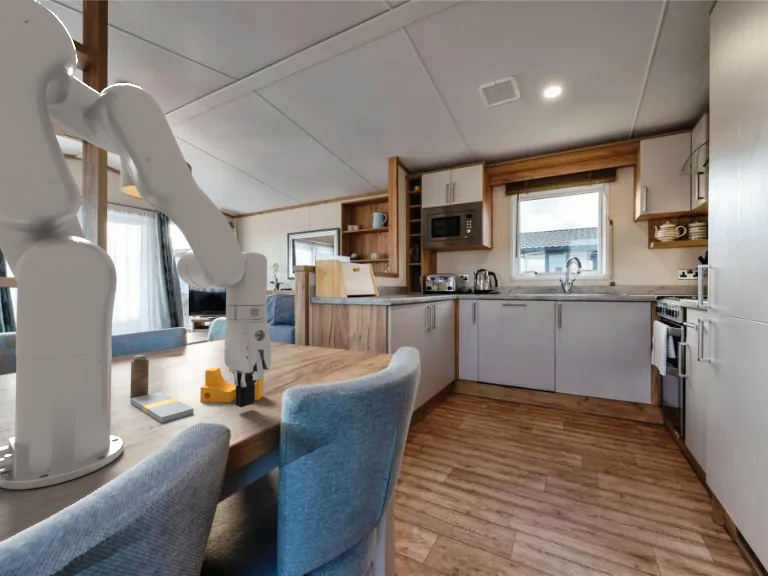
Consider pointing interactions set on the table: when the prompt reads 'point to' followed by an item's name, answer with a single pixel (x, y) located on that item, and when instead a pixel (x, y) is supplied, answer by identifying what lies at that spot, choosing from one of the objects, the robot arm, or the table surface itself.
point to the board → (162, 406)
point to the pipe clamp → (223, 388)
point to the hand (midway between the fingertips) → (245, 404)
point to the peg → (139, 376)
